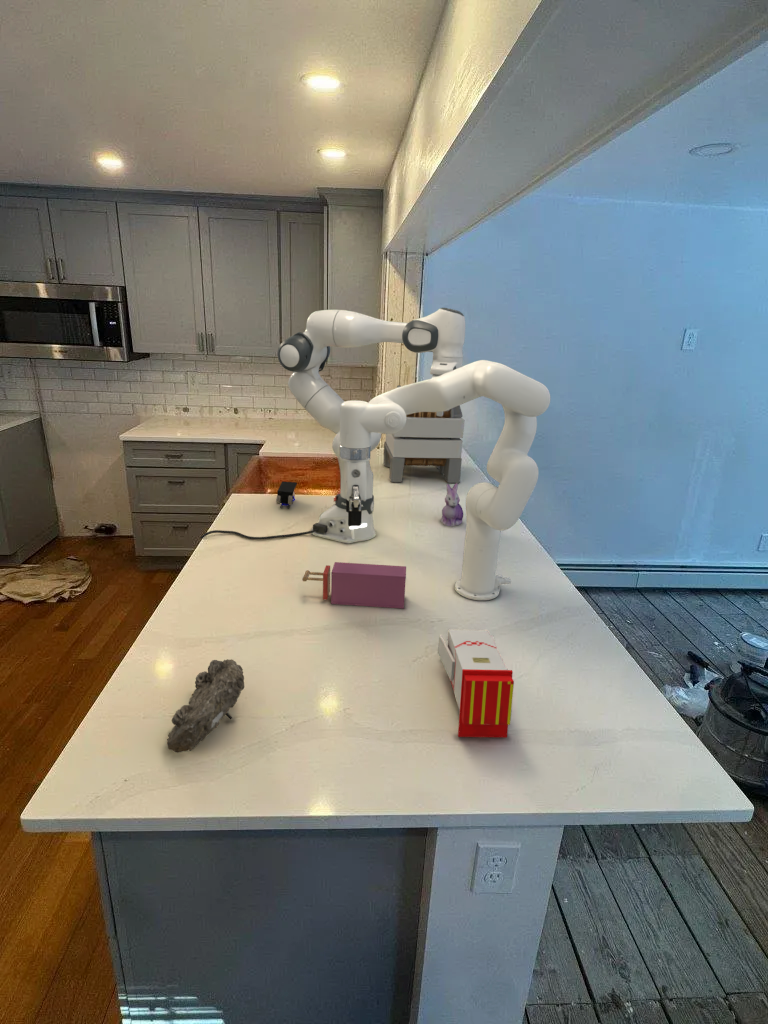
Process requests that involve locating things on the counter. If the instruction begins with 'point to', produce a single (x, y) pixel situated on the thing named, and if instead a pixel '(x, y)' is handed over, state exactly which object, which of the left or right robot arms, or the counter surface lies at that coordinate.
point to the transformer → (427, 444)
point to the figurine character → (286, 494)
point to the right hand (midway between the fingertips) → (353, 518)
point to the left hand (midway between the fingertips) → (443, 413)
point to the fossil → (206, 705)
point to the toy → (478, 682)
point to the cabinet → (368, 585)
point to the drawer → (325, 580)
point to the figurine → (452, 507)
